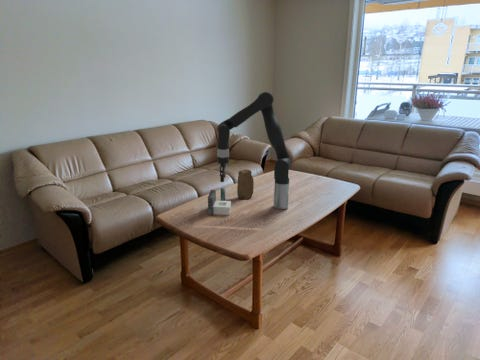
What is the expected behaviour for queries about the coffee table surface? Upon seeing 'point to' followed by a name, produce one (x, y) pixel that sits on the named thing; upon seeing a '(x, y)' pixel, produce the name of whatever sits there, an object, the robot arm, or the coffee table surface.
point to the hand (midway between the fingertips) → (223, 179)
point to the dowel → (222, 194)
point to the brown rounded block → (245, 184)
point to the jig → (211, 201)
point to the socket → (222, 207)
